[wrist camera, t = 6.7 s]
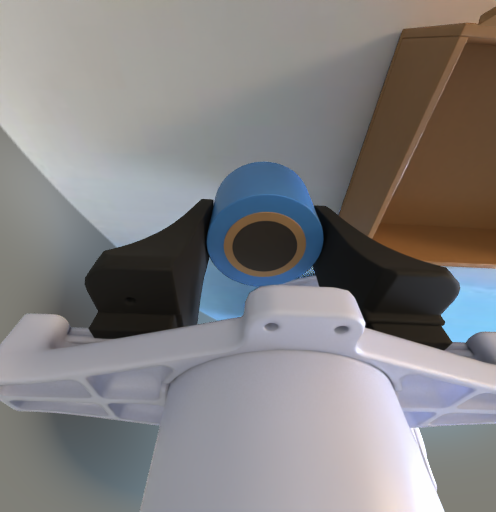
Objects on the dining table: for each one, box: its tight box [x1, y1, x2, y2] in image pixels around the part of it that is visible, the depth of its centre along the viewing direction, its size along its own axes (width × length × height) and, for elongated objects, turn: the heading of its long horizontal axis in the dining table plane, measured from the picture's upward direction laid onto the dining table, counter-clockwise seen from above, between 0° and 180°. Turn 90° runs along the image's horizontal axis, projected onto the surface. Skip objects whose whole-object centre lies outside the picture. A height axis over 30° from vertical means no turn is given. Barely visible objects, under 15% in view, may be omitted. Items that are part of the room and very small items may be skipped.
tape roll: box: [206, 162, 324, 286], centre depth 13 cm, size 5×5×4 cm
